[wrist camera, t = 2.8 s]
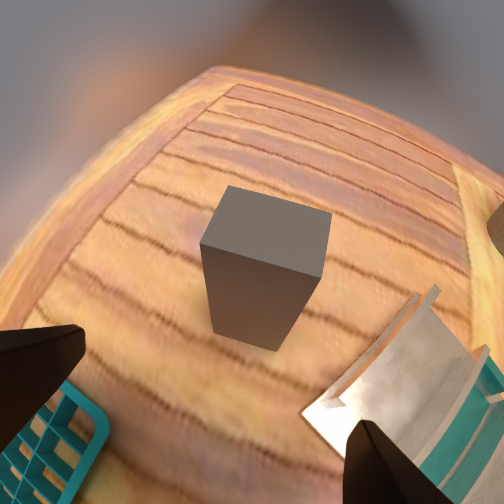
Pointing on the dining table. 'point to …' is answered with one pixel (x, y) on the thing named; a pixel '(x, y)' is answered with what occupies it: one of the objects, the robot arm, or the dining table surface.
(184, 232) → the dining table surface
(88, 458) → the ice cube tray
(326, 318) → the dining table surface
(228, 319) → the tall gray rectangular box
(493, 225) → the thermos bottle
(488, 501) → the tray
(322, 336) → the dining table surface
